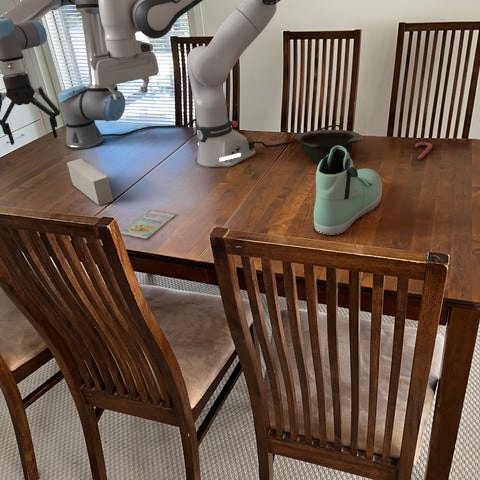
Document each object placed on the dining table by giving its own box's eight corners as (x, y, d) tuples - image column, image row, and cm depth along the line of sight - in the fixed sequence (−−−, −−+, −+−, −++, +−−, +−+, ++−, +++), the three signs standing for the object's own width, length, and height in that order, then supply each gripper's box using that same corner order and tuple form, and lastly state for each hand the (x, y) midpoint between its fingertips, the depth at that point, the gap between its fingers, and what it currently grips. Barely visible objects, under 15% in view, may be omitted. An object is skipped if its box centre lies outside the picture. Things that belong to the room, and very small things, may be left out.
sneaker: (389, 187, 148) (396, 123, 138) (356, 242, 123) (361, 168, 112) (346, 181, 154) (350, 119, 144) (306, 232, 129) (307, 161, 118)
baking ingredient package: (120, 232, 135) (151, 209, 146) (120, 233, 135) (151, 210, 146) (145, 237, 131) (175, 214, 143) (146, 239, 131) (175, 215, 143)
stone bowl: (320, 174, 160) (319, 147, 155) (281, 157, 180) (279, 132, 176) (378, 156, 168) (378, 130, 164) (334, 141, 189) (333, 118, 184)
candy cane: (403, 158, 167) (404, 154, 167) (417, 144, 177) (418, 140, 177) (421, 161, 164) (421, 157, 163) (434, 146, 174) (435, 142, 173)
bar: (72, 184, 168) (66, 162, 163) (85, 180, 170) (80, 158, 166) (99, 205, 152) (93, 181, 148) (113, 200, 155) (107, 176, 150)
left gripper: (-31, 81, 142) (-8, 149, 153) (56, 71, 148) (73, 137, 158) (-27, 76, 148) (-4, 142, 159) (57, 66, 154) (73, 131, 165)
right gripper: (93, 56, 134) (104, 105, 141) (157, 43, 144) (164, 90, 151) (84, 53, 138) (95, 101, 145) (147, 42, 148) (154, 87, 156)
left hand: (34, 140), depth 159 cm, fingers open, 13 cm apart
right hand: (131, 95), depth 148 cm, fingers open, 8 cm apart
